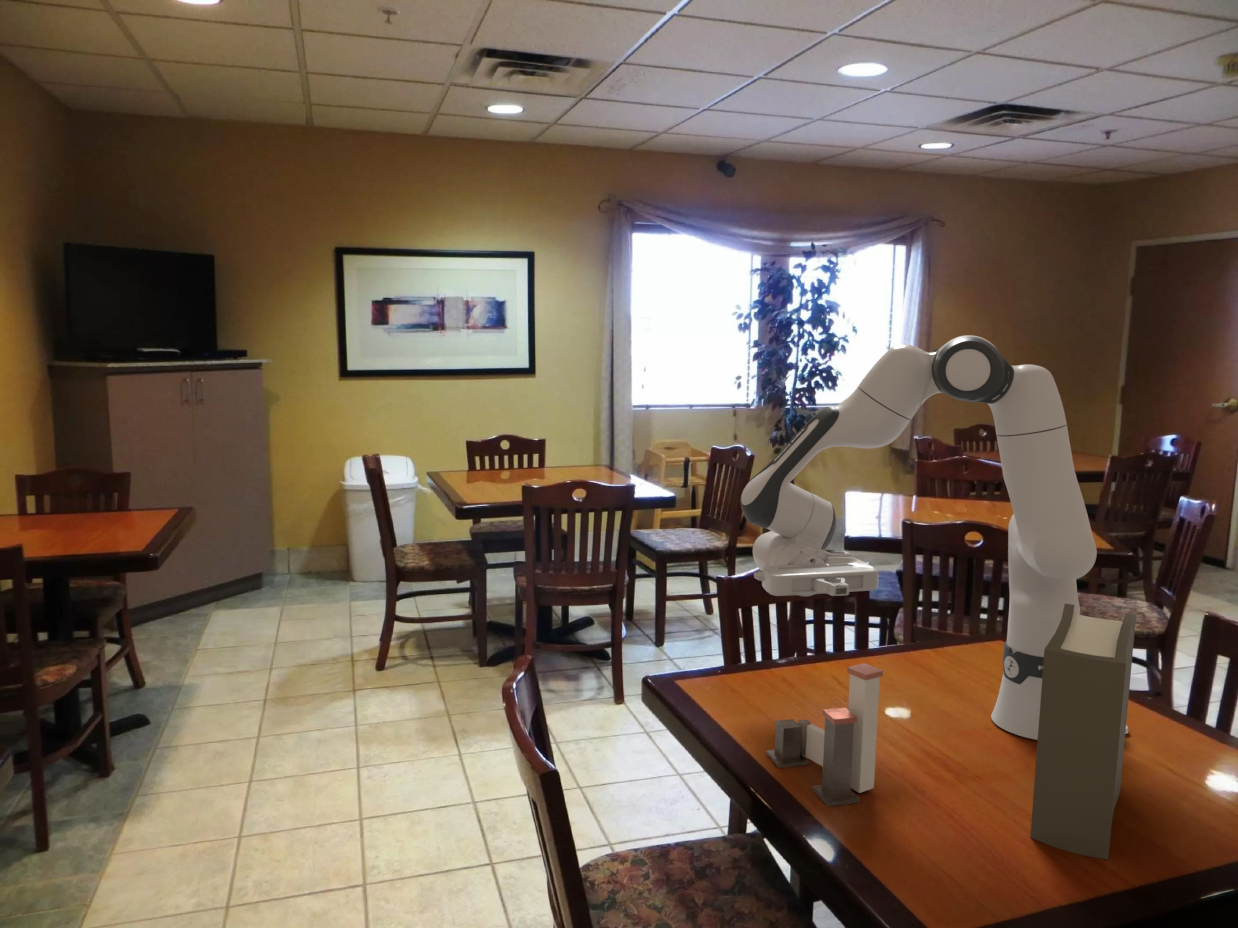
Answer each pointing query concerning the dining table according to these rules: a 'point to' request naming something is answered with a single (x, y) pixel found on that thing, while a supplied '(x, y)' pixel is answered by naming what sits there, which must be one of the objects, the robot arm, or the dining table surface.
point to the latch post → (837, 758)
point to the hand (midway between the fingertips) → (841, 590)
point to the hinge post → (787, 745)
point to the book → (1082, 732)
